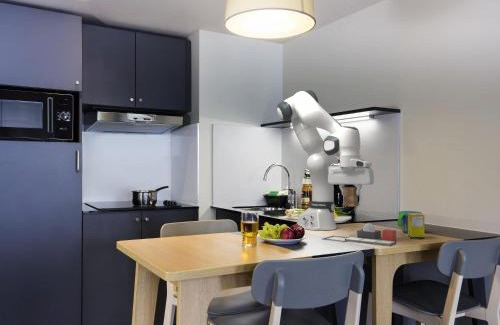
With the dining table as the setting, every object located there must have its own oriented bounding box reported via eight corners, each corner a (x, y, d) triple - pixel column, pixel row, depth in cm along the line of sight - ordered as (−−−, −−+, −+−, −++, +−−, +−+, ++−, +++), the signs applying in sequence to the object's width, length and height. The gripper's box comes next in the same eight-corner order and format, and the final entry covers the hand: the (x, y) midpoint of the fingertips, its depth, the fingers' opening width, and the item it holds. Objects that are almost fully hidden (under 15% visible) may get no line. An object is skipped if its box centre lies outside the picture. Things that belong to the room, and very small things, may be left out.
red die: (382, 240, 198) (382, 230, 198) (385, 239, 201) (385, 228, 201) (392, 241, 195) (392, 230, 195) (395, 240, 199) (395, 229, 199)
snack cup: (405, 235, 215) (405, 213, 215) (390, 232, 225) (390, 211, 225) (430, 233, 222) (430, 212, 222) (414, 230, 231) (414, 210, 231)
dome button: (361, 235, 203) (361, 223, 203) (365, 234, 207) (365, 222, 207) (372, 237, 200) (372, 224, 200) (376, 235, 204) (376, 223, 204)
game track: (344, 241, 195) (344, 239, 195) (352, 238, 202) (352, 236, 202) (389, 246, 184) (389, 243, 184) (396, 243, 190) (396, 241, 190)
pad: (321, 239, 200) (321, 238, 200) (332, 236, 209) (332, 235, 209) (345, 241, 193) (345, 241, 193) (355, 238, 202) (355, 237, 202)
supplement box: (420, 236, 210) (421, 213, 210) (424, 239, 204) (424, 214, 204) (407, 236, 210) (407, 212, 210) (410, 238, 204) (411, 214, 204)
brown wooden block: (342, 206, 197) (342, 187, 197) (347, 205, 201) (347, 187, 201) (353, 206, 194) (353, 187, 194) (358, 205, 198) (358, 187, 198)
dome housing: (357, 238, 202) (357, 230, 202) (363, 236, 209) (363, 228, 209) (374, 240, 198) (374, 232, 198) (380, 238, 204) (381, 230, 204)
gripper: (325, 163, 201) (325, 194, 201) (369, 162, 189) (369, 196, 189) (331, 163, 206) (332, 194, 206) (375, 162, 194) (375, 195, 194)
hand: (350, 195), depth 197 cm, fingers closed on brown wooden block, 4 cm apart
